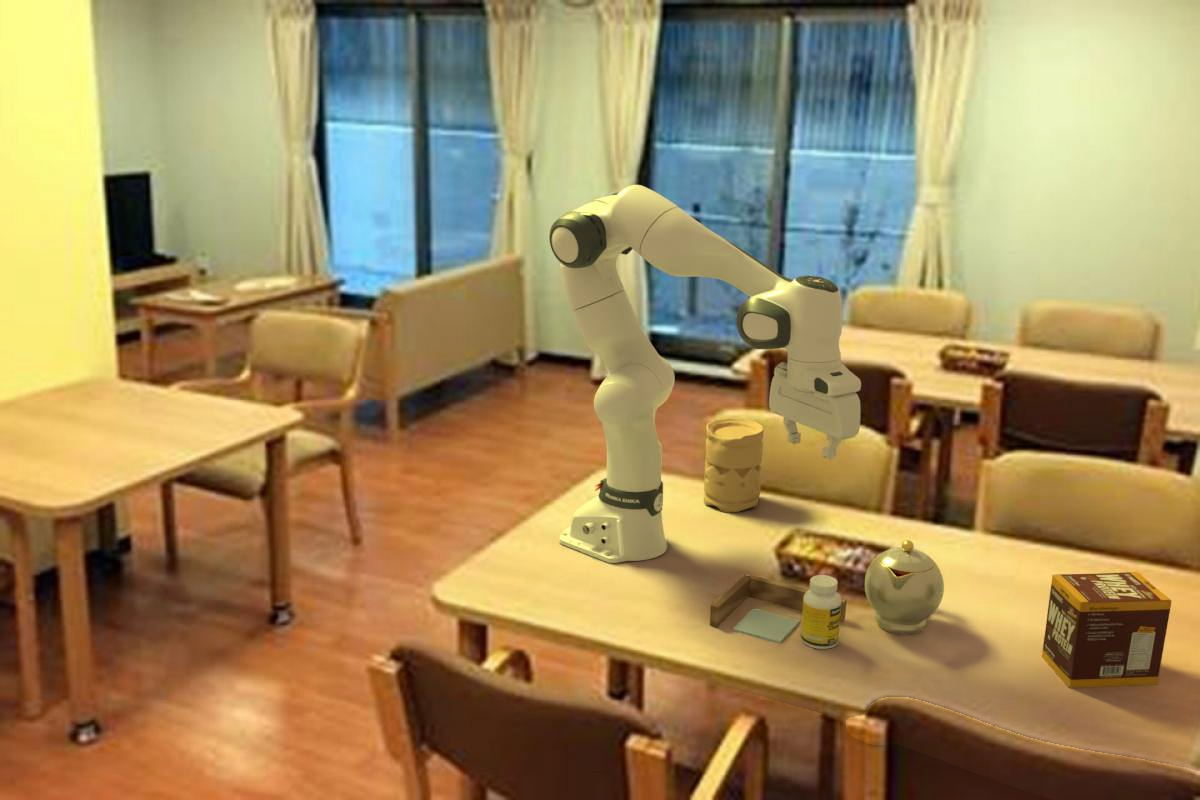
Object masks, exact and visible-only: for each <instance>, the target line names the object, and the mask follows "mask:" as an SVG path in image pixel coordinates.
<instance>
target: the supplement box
mask: <svg viewBox="0 0 1200 800" xmlns="http://www.w3.org/2000/svg"><path fill="white" fill-rule="evenodd" d="M1049 591H1050V592H1049V600H1048V607H1047V615H1046V622H1045V629H1044V632H1045V633H1044V638H1043V645H1042V652H1041V657H1042V658H1043V660H1044V661H1045V662H1046V663H1047V664H1048V666H1050V668H1051V669H1052V670H1053V671H1054V672H1055V673H1056V675H1057V676H1058V677H1059V678H1060V679H1061V680H1062V682H1063V683H1065V684H1066V686H1067V687H1068V688H1069V689H1076V688H1077V689H1078V688H1079V689H1081V688H1103V687H1104V688H1106V687H1129V686H1130V687H1134V686H1155V685H1158V684H1159V683H1158V682H1159V677H1160V672H1161V671H1160V669H1161V666H1162V659H1163V652H1164V647H1165V641H1166V636H1167V629H1168V625H1169V624H1168V623H1169V618H1170V613H1171V606H1172V600H1171V599H1170V597H1168V596H1166V595H1165V594H1164V593H1163V592H1162V591H1160V590H1159V589H1158V588H1157V587H1156V586H1155V585H1153V584H1152V583H1151V582H1150V581H1149V580H1148V579H1146V577H1144V575H1142V574H1141V573H1140V572H1138V571H1131V572H1130V571H1129V572H1107V573H1104V572H1103V573H1069V574H1068V573H1066V574H1065V573H1064V574H1063V573H1061V574H1059V573H1058V574H1052V576H1051V585H1050V590H1049Z"/></svg>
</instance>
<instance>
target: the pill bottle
mask: <svg viewBox="0 0 1200 800" xmlns="http://www.w3.org/2000/svg"><path fill="white" fill-rule="evenodd" d="M838 584H839V583H838V579H836V578H835V577H833V576H830V575H826V574H818V575H814V576H812V577H810V579H809V588H810V589H809V590H808V591H807V592H806V593H805V595H804V599H803V612H802V614H801V615H802V616H801V631H800V639H801V640H802V642H803V643H804V644H805V645H806V646H808V647H811V648H812V649H813V648H814V649H817V650H819V649H820V650H825V649H826V650H827V649H831V648H834V647H835V646H836V645H838V643H839V638H840V637H839V636H840V623H841V622H840V614H841V602H842V600H841V598H842V597H841V595H840V594H839V593H838V592H837V591H838Z"/></svg>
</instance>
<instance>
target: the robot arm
mask: <svg viewBox="0 0 1200 800" xmlns="http://www.w3.org/2000/svg"><path fill="white" fill-rule="evenodd" d="M549 246H550V248H551V251H552V253H553V254H554V255H553V256H554V257H555V259H557V261H559V263H560V264H559V267H560V269H559V270H560V274H561V278H562V283H563V287H564V290H565V294H566V297H567V301H568V302H569V306H570V308H571V310H572V313H573V315H574V318H575V321H576V323H577V325H578V328H579V329H580V332H581V334H582V338H583V339H584V342H585V345H586V347H587V348H588V349H589V350H591V351H592V352H594V353H595V354H596V355H597V356H598V358H600V360H601V362H603V364H604V366H605V367H606V368H607V370H608V372H609V375H608V376H607V377H605V378H604V380H602V382H601V384H600V385H599V387H598V389H597V391H596V392H595V395H594V397H593V408H594V413H595V414H596V416H597V418H598V420H599V421H600V422H601V424H602V428H603V433H604V437H605V444H606V477H604V478H602V479H601V480H600V481H599V483H597V484H595V485H594V487H595V489H594V491H595V492H596V491H598V490H599V493H598V494H597V495H596V496H595V497H593V498H591V499H590V500H588V501H587V502H586V503H584V504H582V505H581V506H580V507H578V508H577V510H576V511H575V512H574V514H573V516H572V519H571V523H570V526H568V527H567V528H565V529H564V530H563V531H562V532H561V533H560V534H559V542H558V543H560V545H563V546H566V547H568V548H570V549H573V550H575V551H578V552H581V553H583V554H586V555H588V556H591V557H593V558H595V559H599V560H601V561H604V562H606V563H608V564H617V563H623V562H630V561H633V562H634V561H635V562H636V561H638V562H639V561H647V560H650V559H654V558H657V557H659V556H661V555H663V554H664V553H665V552H666V551H667V550H668V543H667V540H666V536H665V531H664V525H663V514H662V513H663V512H662V510H663V506H664V482H663V481H662V465H663V464H662V462H663V459H662V458H663V447H662V444H661V442H660V441H659V438H658V434H657V430H656V423H655V419H656V417H655V416H656V413H657V410H658V408H660V406H662V405H663V404H664V403H665V402H666V401H667V400H668V399H669V397H670V395H671V393H672V391H673V388H674V385H675V377H676V376H675V371H674V368H673V367H672V365H671V364H670V363H669V361H667V359H665V358H664V357H662V356H661V355H660V354H659V353H658V351H657V350H656V349H655V347H654V346H653V344H652V343H651V341H650V339H649V338H648V336H647V335H646V334H645V332H644V329H642V326H641V325H640V323H639V321H638V318H637V315H636V314H635V311H634V309H633V307H632V304H631V301H630V299H629V297H628V295H627V292H626V289H625V287H624V285H623V282H622V280H621V277H620V275H619V273H618V270H617V260H618V258H619V256H620V255H625V256H626V255H629V253H630V252H631V251H632V250H633V251H634V252H636V253H637V254H638V255H639V256H640V257H642V258H643V259H644V260H645V261H646V262H647V263H649V264H650V265H652V267H654V268H656V269H657V270H659V271H661V272H663V273H665V274H667V275H669V276H672V277H679V278H680V277H681V278H684V277H687V278H688V277H689V278H690V277H699V278H700V277H701V278H711V279H712V278H713V279H716V280H721V281H724V282H726V283H727V284H730V285H732V286H734V287H735V288H736V289H738V290H739V291H741V292H742V293H744V294H745V295H747V296H748V297H749V298H748V299H746V300H744V301H743V302H741V304H740V305H739V307H738V309H737V313H736V317H735V318H736V319H735V320H736V321H735V322H736V329H737V331H738V334H739V336H740V337H741V340H742V341H743V342H744V343H745V344H746V345H747V346H749V347H751V348H752V349H756V350H775V349H785V350H786V351H787V363H786V362H783V361H782V362H780V363H778V364H777V365H776V366H775V367H774V371H773V374H774V376H773V377H772V379H771V383H770V384H771V385H770V391H769V400H768V406H769V409H770V411H771V413H772V414H775V415H777V416H780V417H782V418H783V421H782V423H783V425H784V428H785V431H786V432H787V442H788V443H789V444H792V445H796V444H800V443H801V442H802V441H801V440H802V439H801V436H802V433H801V432H799V430H798V427H797V424H800V425H802V426H805V427H807V428H809V429H812V430H815V431H818V432H820V433H822V434H824V435H826V440H827V441H828V443H827V445H826V446H824V447H823V446H822V457H824V458H825V459H827V460H833V459H835V458H836V457H837V449H838V447H839V445H840V444H841V442H842V441H845V440H849V439H850V440H851V439H853V438H855V437H856V436H857V435H858V434H859V432H860V427H861V400H860V397H859V395H858V394H857V392H859V391H861V389H862V388H861V387H862V382H861V379H860V377H858V376H857V375H855V374H854V373H853V371H850V370H849V369H848V367H847V366H846V365H845V364H844V363H842V362H841V359H842V353H841V350H840V338H841V336H842V330H843V326H842V325H843V308H842V305H843V304H842V297H841V292H840V289H839V287H838V286H837V284H836V283H834V282H833V281H832V280H830V279H828V278H825V277H822V276H821V277H820V276H816V275H801V276H797V277H796V278H794V279H792V278H788V277H786V276H784V275H782V274H780V273H779V272H777V271H776V270H774V269H772V268H771V267H769V266H768V265H767V264H765V263H763V262H762V261H760V260H759V259H757V258H756V257H754V256H753V255H751V254H750V253H749V252H747V251H746V250H744V249H742V248H741V247H739V246H737V245H736V244H734V243H732V242H730V241H729V240H727V239H725V238H724V237H723V236H720V235H719V234H717V233H715V232H714V231H712V230H711V229H709V228H708V227H706V226H705V225H703V224H702V223H700V222H699V221H698V220H696V219H695V218H694V217H692V216H691V215H689V213H687V212H686V211H684V210H683V209H682V208H680V207H679V206H678V205H676V204H675V203H674V202H673V201H671V200H669V199H668V198H666V197H665V196H663V195H661V194H660V193H658V192H656V191H655V190H652V189H651V188H648V187H646V186H644V185H641V184H632V185H629V186H626V187H624V188H623V189H622V190H620V191H618V192H614V193H611V194H610V195H608V196H607V195H606V196H603V197H599V198H596V199H593V200H591V201H589V202H587V203H586V204H584V205H582V206H580V207H578V208H576V209H574V210H571V211H567V212H565V213H564V214H562V215H561V216H560V217H558V218H557V219H556V220H555V221H554V222H553V224H552V225H551V227H550V230H549Z"/></svg>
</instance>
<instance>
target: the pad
mask: <svg viewBox="0 0 1200 800" xmlns="http://www.w3.org/2000/svg"><path fill="white" fill-rule="evenodd" d="M799 624H800V620H798V619H796V618H791V617H788V616H787V617H786V616H783V615H779V614H776V613H773V612H769V611H765V610H761V609H757V608H752V609H751V610H750V611H749V612H748V613H747V614H746V615H745V616H744V617H743V618H742V619H740V621H739V622H737V624H736V625H735V626H734V627H732V631H733V632H737V633H740V634H745V635H747V636H751V637H755V638H759V639H762V640H765V641H768V642H772V643H776V644H779V645H780V644H782V643H783V641H784V640H785V639H786V638H787V637H788V636H789V635H790V634H791V633H792V631H793V630H795V628H796V627H797V626H798V625H799Z"/></svg>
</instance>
